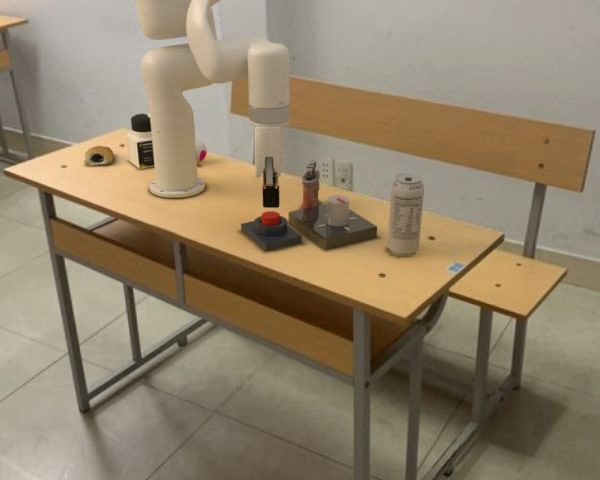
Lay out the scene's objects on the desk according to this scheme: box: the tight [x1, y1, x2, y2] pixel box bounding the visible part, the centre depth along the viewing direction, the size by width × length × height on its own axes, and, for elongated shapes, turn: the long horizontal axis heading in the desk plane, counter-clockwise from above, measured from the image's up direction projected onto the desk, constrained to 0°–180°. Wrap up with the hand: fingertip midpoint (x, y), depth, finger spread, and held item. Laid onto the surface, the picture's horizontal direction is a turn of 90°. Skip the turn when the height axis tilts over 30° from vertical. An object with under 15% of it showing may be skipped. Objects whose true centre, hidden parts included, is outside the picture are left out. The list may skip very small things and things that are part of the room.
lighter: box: [301, 160, 321, 209], centre depth 166 cm, size 8×3×10 cm, turn 168°
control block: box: [240, 215, 303, 252], centre depth 155 cm, size 11×8×4 cm
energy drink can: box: [387, 173, 425, 258], centre depth 147 cm, size 6×6×15 cm
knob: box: [326, 194, 350, 227], centre depth 155 cm, size 4×4×5 cm
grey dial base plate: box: [288, 203, 378, 251], centre depth 158 cm, size 15×12×3 cm
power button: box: [261, 210, 281, 226], centre depth 154 cm, size 4×4×2 cm
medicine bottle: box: [126, 113, 155, 170], centre depth 191 cm, size 7×7×12 cm
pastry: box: [84, 145, 115, 167], centre depth 194 cm, size 9×7×4 cm
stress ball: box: [195, 139, 208, 167], centre depth 193 cm, size 8×8×7 cm
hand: (271, 205), depth 152 cm, fingers closed
